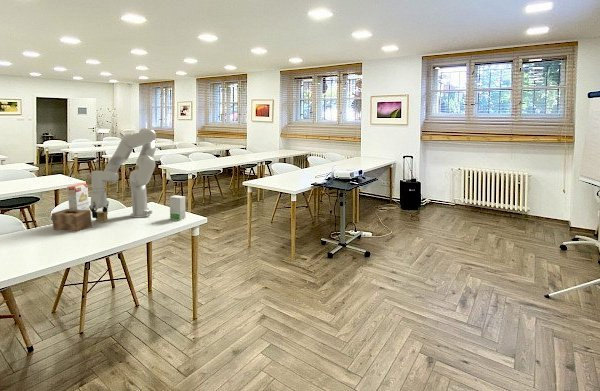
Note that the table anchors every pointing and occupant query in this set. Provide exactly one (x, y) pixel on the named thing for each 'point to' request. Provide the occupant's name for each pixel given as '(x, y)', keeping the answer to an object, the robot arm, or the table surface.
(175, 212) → the skincare box
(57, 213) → the coin box
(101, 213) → the token
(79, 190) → the cracker box
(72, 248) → the table surface
